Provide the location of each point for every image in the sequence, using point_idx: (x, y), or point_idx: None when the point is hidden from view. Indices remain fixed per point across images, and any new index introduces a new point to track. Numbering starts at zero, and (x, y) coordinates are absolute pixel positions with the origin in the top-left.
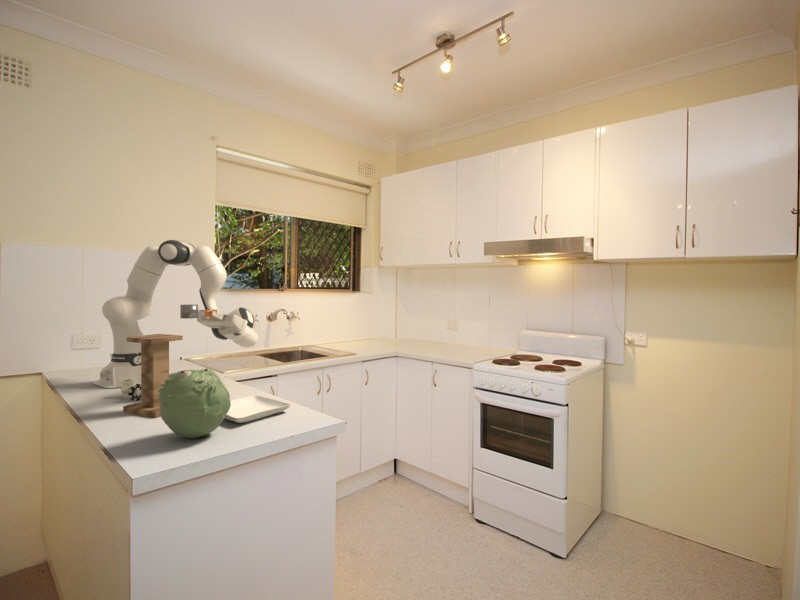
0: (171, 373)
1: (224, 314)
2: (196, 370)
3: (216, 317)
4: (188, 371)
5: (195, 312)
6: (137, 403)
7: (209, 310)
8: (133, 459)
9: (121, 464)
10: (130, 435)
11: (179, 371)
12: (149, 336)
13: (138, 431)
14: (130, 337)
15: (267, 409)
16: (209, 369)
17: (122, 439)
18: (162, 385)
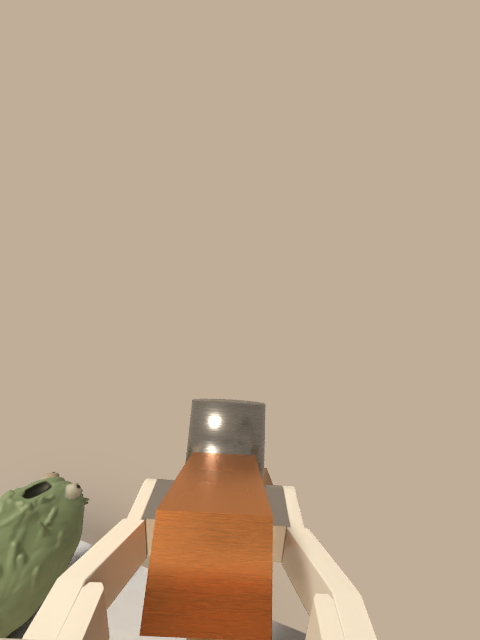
0: (76, 483)
1: (5, 638)
2: (31, 485)
3: (115, 583)
4: (44, 478)
5: (188, 437)
6: None
7: (184, 467)
8: (78, 551)
9: (85, 542)
10: (131, 598)
11: (62, 481)
12: None
13: (129, 615)
14: None
15: None
16: (4, 500)
17: (133, 584)
18: (85, 498)
